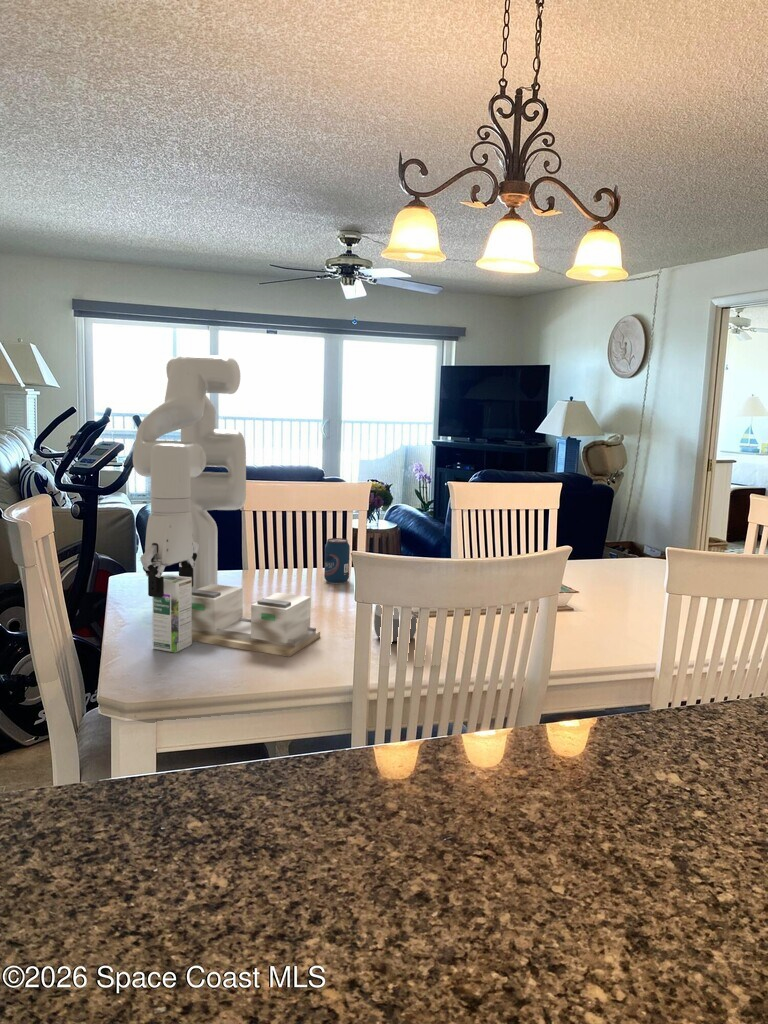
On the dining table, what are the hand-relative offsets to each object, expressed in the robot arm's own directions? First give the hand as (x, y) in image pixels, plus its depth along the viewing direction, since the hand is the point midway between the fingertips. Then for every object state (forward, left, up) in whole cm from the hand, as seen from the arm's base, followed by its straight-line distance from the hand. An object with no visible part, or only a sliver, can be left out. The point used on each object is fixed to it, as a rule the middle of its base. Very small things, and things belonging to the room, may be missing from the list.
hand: (171, 591), depth 147 cm
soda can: (+7, +66, -12) cm, 68 cm away
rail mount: (+10, +12, -12) cm, 20 cm away
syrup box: (0, 0, -12) cm, 12 cm away
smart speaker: (+39, +25, -12) cm, 48 cm away
